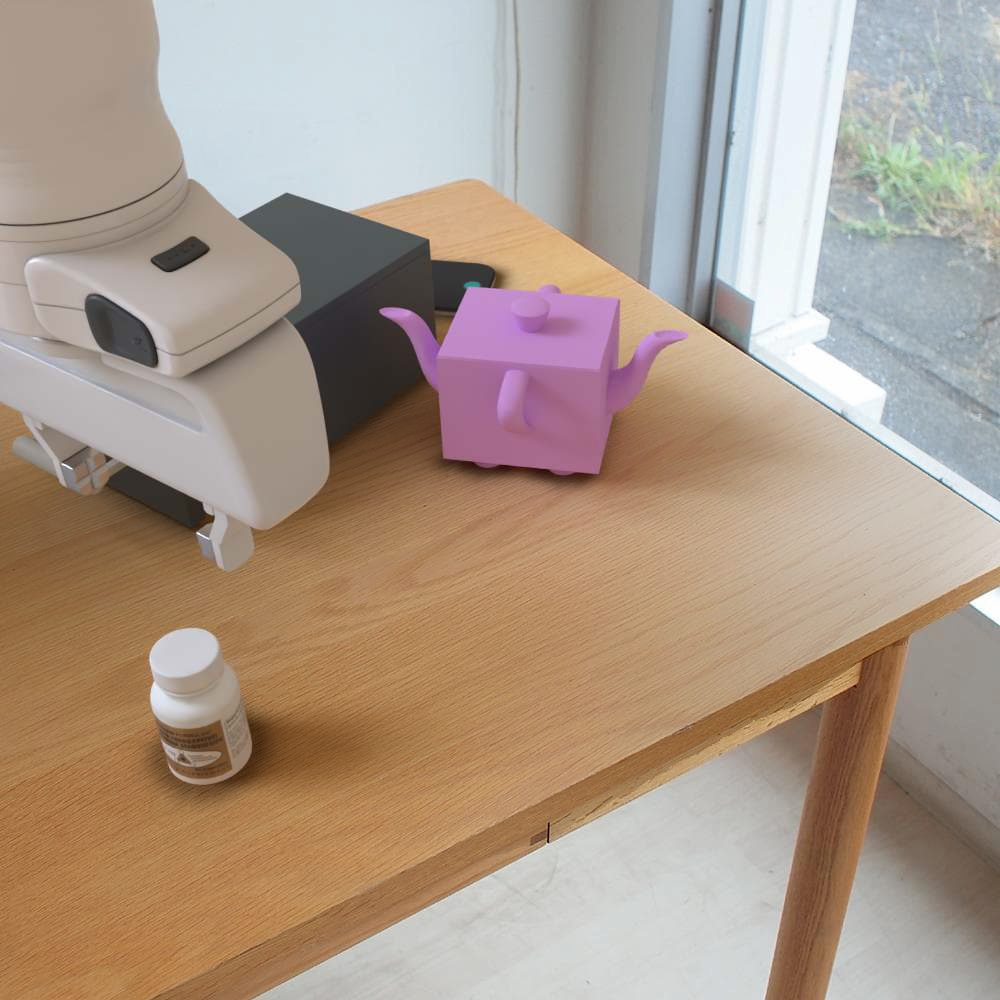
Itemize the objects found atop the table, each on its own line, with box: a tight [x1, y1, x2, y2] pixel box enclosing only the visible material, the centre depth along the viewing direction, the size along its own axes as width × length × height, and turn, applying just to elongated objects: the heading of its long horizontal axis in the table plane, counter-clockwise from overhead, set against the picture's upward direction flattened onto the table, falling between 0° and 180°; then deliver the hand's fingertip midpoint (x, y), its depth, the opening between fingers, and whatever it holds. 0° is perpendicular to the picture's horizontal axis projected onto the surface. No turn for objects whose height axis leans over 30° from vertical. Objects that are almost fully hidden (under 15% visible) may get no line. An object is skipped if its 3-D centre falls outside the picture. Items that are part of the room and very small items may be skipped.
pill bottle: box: [149, 627, 253, 786], centre depth 67 cm, size 4×4×8 cm
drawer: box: [11, 434, 206, 529], centre depth 86 cm, size 19×12×9 cm, turn 144°
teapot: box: [379, 284, 689, 476], centre depth 87 cm, size 15×13×11 cm
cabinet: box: [237, 192, 438, 446], centre depth 93 cm, size 16×14×11 cm
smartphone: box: [431, 259, 497, 318], centre depth 106 cm, size 8×1×15 cm
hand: (155, 520), depth 59 cm, fingers open, 8 cm apart
